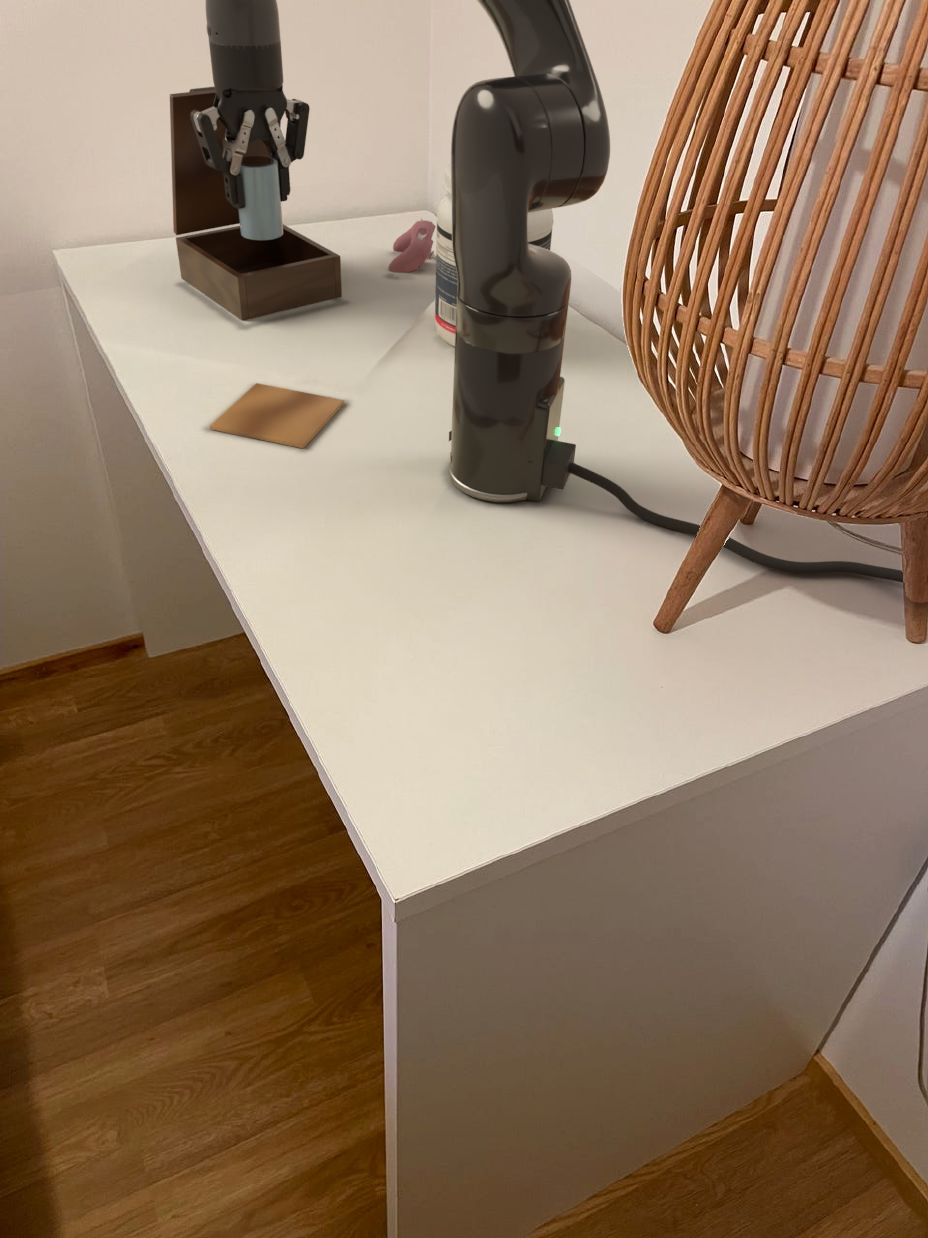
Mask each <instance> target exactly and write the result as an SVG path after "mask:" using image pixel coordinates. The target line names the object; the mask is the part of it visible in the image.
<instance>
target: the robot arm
mask: <svg viewBox="0 0 928 1238" xmlns="http://www.w3.org/2000/svg"><path fill="white" fill-rule="evenodd" d="M277 1H278V0H205V18H206V19H205V20H206V33H207V36H208V37H207V38H208V45H209V54H210V63H211V64H210V65H211V73H212V81H213V87H214V86H215V91H216V95H215V100H214V103H213V107H211V108H208V109H206V110H204V111H201V112H199V111H197V110H193V111H192V112H191V114H190V118H191V121H192V124H193V127H194V130H195V133H196V136H197V139H198V142H199V145H200V148H201V151H202V154H203V157H204V160H205V163H206V165H208V166H209V167H211V168H213V169H215V170H217V171H222V173H223V177H224V186H225V195H226V199H227V201H228V202H230V203H231V205H232V206H233V207H235V208H237V209H242V208H244V207H245V203H244V193H243V183H242V175H241V174H239V172H240V168H241V163H242V159H243V155H245V154H246V151H247V146H248V143H251V142H254V141H256V140H262V141H263V143H264V144H265V145H266V147H267V149H268V151H269V154H270V156H271V158H273V159H276V160H277V161H278V170H279V183H280V196H281V203H282V202H286V201H287V202H288V196H290V193H291V178H290V166H291V164H292V163H293V162H295V161H296V160H302V159H304V156H305V149H306V141H307V133H308V126H309V117H310V109H311V108H310V105H309V103H307V102H304V101H303V100H300V99H296V98H292V99H289V98H287V97H286V95H285V93H284V90H282V85H283V86H284V70H283V69H284V68H283V67H284V66H283V57H282V55H283V53H282V41H281V39H282V38H281V29H280V28H281V27H280V15H279V7H278V2H277ZM476 1H477V3H478V4H479V5H480V6H481V8H482V9H483V10H484V12H485V13H486V15H487V17H488V18H489V19H490V21H491V23H492V25H493V26H494V29H495V30H496V32H497V34H498V36H499V38H500V40H501V43H502V45H503V49H504V50H505V53H506V55H507V59H508V61H509V64H510V67H511V70H512V74H513V76H505V77H503V76H502V77H495V78H494V77H493V78H488V79H481V80H479V81H476V82H474V83H473V84H471V85H470V86H469V87H468V88H467V89H466V90H465V91H464V92H463V94H462V96H461V97H460V100H459V102H458V104H457V107H456V110H455V114H454V117H453V124H452V128H451V141H450V165H451V195H452V248H453V255H454V261H455V265H456V270H457V277H458V286H457V310H456V334H455V347H454V358H453V359H454V361H453V363H454V364H453V387H452V412H451V413H452V414H451V430H450V431H448V442H451V443H450V455H449V465H448V476H449V479H450V481H451V483H452V484H453V486H454V487H455V488H457V489H458V490H459V491H460V492H462V493H464V494H465V495H468V496H470V497H472V498H476V499H479V500H481V501H488V502H494V503H514V502H521V501H532V502H540V500H541V499H542V496H543V494H544V492H545V490H546V489H547V487H549V488H553V489H559V490H564V488H565V486H566V484H567V482H568V479H569V477H570V475H571V474H572V475H574V476H576V477H577V478H580V479H582V480H585V481H587V482H590V483H591V484H593V485H596V486H597V487H599V488H601V489H603V490H604V491H607V492H608V493H610V494H611V495H613V496H614V497H615V498H616V499H617V500H618V501H619V502H620V503H621V505H623V506H624V508H626V509H627V510H628V511H629V512H630V513H632V514H633V515H635V516H636V517H638V518H640V519H642V520H644V521H646V522H648V523H651V524H654V525H656V526H659V527H663V528H666V529H670V530H673V531H678V532H681V533H686V534H690V535H693V536H696V534H697V532H698V531H699V528H700V526H701V525H700V524H696V523H693V522H689V521H685V520H681V519H678V518H673V517H668V516H666V515H662V514H659V513H657V512H655V511H652V510H650V509H648V508H646V507H644V506H642V505H640V504H639V503H638V502H637V501H635V500H634V499H633V498H632V496H630V494H629V493H628V492H627V491H626V490H625V489H624V488H622V487H621V486H620V485H618V484H617V483H615V482H614V481H612V480H611V479H609V478H607V477H605V476H603V475H602V474H599V473H597V472H595V471H592V470H591V469H588V468H586V467H583V466H581V465H579V464H577V463H575V456H576V450H577V449H576V448H577V444H576V443H570V442H566V441H561V440H559V437H560V434H561V427H560V426H561V425H560V424H561V416H562V409H563V399H564V391H565V378H564V377H563V376H561V372H562V364H563V356H564V346H565V337H566V330H567V329H566V328H567V322H568V321H567V320H568V311H569V301H570V295H571V287H572V270H571V267H570V264H569V263H568V261H567V260H566V259H565V258H563V257H562V256H560V255H559V254H558V253H556V252H554V251H552V250H551V249H550V250H548V249H545V248H542V247H539V246H536V245H532V244H528V229H527V219H528V213H529V212H535V211H541V210H547V209H552V210H553V209H557V208H563V207H569V206H573V205H578V204H580V203H583V202H586V201H588V200H590V199H592V198H593V197H594V196H595V195H596V194H597V193H598V192H599V190H600V189H601V187H602V186H603V184H604V182H605V179H606V177H607V175H608V171H609V164H610V157H611V135H610V126H609V120H608V119H609V118H608V113H607V109H606V106H605V102H604V98H603V95H602V91H601V88H600V84H599V81H598V78H597V76H596V73H595V70H594V67H593V65H592V61H591V58H590V55H589V53H588V50H587V48H586V44H585V41H584V38H583V35H582V33H581V31H580V27H579V24H578V21H577V19H576V16H575V12H574V10H573V7H572V4H571V2H570V0H476ZM284 115H285V118H286V119H287V122H286V132H285V137H284V135H283V134H284V133H283V132H282V129H281V126H279V123H280V121H281V122H282V119H283V117H284ZM218 118H219V120H220V121H221V122H222V124H223V125H224V126H225V130H224V135H223V140H222V146H223V152H222V154H221V150H220V147H219V144H218V141H217V138H216V135H215V131H216V129H217V123H216V122H217V119H218ZM235 139H236V142H235ZM728 537H729V539H728V540H727V541H726V543H725V545H724V546H722V547H723V548H725V549H726V550H729V551H730V552H732V553H735V554H736V555H738V556H740V557H742V558H744V559H746V560H748V561H750V562H752V563H755V564H757V565H759V566H763V567H766V568H769V569H771V570H776V571H779V572H780V571H781V572H785V573H793V574H807V575H808V574H830V573H845V574H855V575H861V576H867V577H871V578H877V579H882V580H888V581H894V582H899V583H902V584H904V583H903V572H902V571H903V570H900V569H896V568H892V567H891V568H889V567H884V566H879V565H872V564H868V563H863V562H855V561H847V560H846V561H843V560H828V561H795V560H786V559H781V558H777V557H774V556H770V555H767V554H765V553H762V552H760V551H758V550H755V549H753V548H751V547H750V546H747V545H745V544H743V543H741V542H740V541H737V540H735V539H734V538H732V537H730V536H728Z"/></svg>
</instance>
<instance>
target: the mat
mask: <svg viewBox="0 0 928 1238" xmlns="http://www.w3.org/2000/svg"><path fill="white" fill-rule="evenodd" d="M344 404H345V400H344V399H341V398H336V397H330V396H325V395H319V394H314V393H309V392H305V391H300V390H299V391H298V390H293V389H290V388H289V389H288V388H283V387H278V386H272V385H267V384H262V383H257V382H256V383H255V384H254V385H252V387H251V388H249V389H248V390H247V391H246V392H245V393H244V394H243V395H242V396H241V397H239V398H238V399H237V400H236V401H235V402H234V403H233V404H232V405H230V407H229V408H227V410H225V411H224V412H223V413H222V414H221V415H220V416H219V417H218V418H216V419H215V420H214V421H213V422H212V423H211V424H210V425H209V429H210V430H212V431H216V432H221V433H227V434H231V435H236V436H241V437H245V438H250V439H256V440H260V441H266V442H269V443H276V444H280V445H285V446H290V447H295V448H300V449H305V447H306V446H307V445H309V443H310V442H311V441H312V440H313V439H314V438H315V436H317V434H318V433H319V432H320V431H321V430H322V429H323V428H324V427H325V425H326V424H327V423H328V422H330V420H331V419H332V418H333V417H334V415H336V413H337V412H338V411H339V410H340V409H341V408H342V407H343V406H344Z"/></svg>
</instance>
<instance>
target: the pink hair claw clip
mask: <svg viewBox="0 0 928 1238" xmlns="http://www.w3.org/2000/svg"><path fill="white" fill-rule="evenodd" d="M435 229H436V225H435V223H433V221H430V220H429V219H428V220H423V218H422V217H420V219H419V220H417V221H415V222H414V223H413V225H412V226H411V227H410V228H409V229H408V230H406V231H405V232H404V233H402V234H401V235H400V236H397V238H396V240H395V241H394V242H393V245H392V250H393V252H398V253H400V254H399V255H397V256H396V257H394V258H393V260H392V261H390V263H389V265H388V272H393V273H412V272H414V271H416V269H417V268H418V269H420V267H421V266H422V265H423V264H425V261H426V260H427V259H428V260H431V259H433V258H434V255H435V251H434V250H432V249H433V244H434V240H433V239H432V238H433V236H434V233H435Z"/></svg>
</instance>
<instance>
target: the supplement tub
mask: <svg viewBox="0 0 928 1238" xmlns="http://www.w3.org/2000/svg"><path fill="white" fill-rule="evenodd" d="M442 184H443V185H442V187H443V189H444V190H445V191H446V195H445V196H444V197H442V199H441V201H440V202H439V204H438V207H437V213H436V244H435V245H436V249H435V252H436V254H435V291H434V292H435V295H434V297H435V299H434V300H435V301H434V326H435V330H436V332H437V334H438V335H439V337H440V338H441V339H442V340H443V341H444V342H446V343H447V344H449V345H450V346H452V347H454V348H455V334H456V310H457V286H458V277H457V270H456V265H455V261H454V255H453V248H452V195H451V164H449V165H448V166H447V167H446V168H445V170H444V181H443V183H442ZM553 226H554V213H553V208H552V209H547V210H541V211H535V212H529V213H528V219H527V229H528V244H532V245H536V246H539V247H542V248H545V249H548V250H550V251H551V246H552V236H553Z"/></svg>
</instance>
